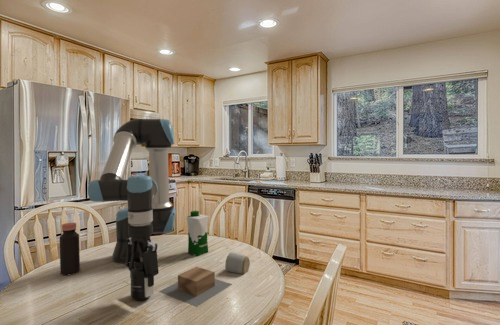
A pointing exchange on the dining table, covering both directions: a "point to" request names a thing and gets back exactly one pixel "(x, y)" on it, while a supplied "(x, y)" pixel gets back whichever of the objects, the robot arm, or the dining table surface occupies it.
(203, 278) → the walnut block
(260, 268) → the dining table surface
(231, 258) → the ceramic mug
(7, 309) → the dining table surface
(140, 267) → the supplement bottle
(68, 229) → the vinegar
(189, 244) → the milk carton
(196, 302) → the mat
